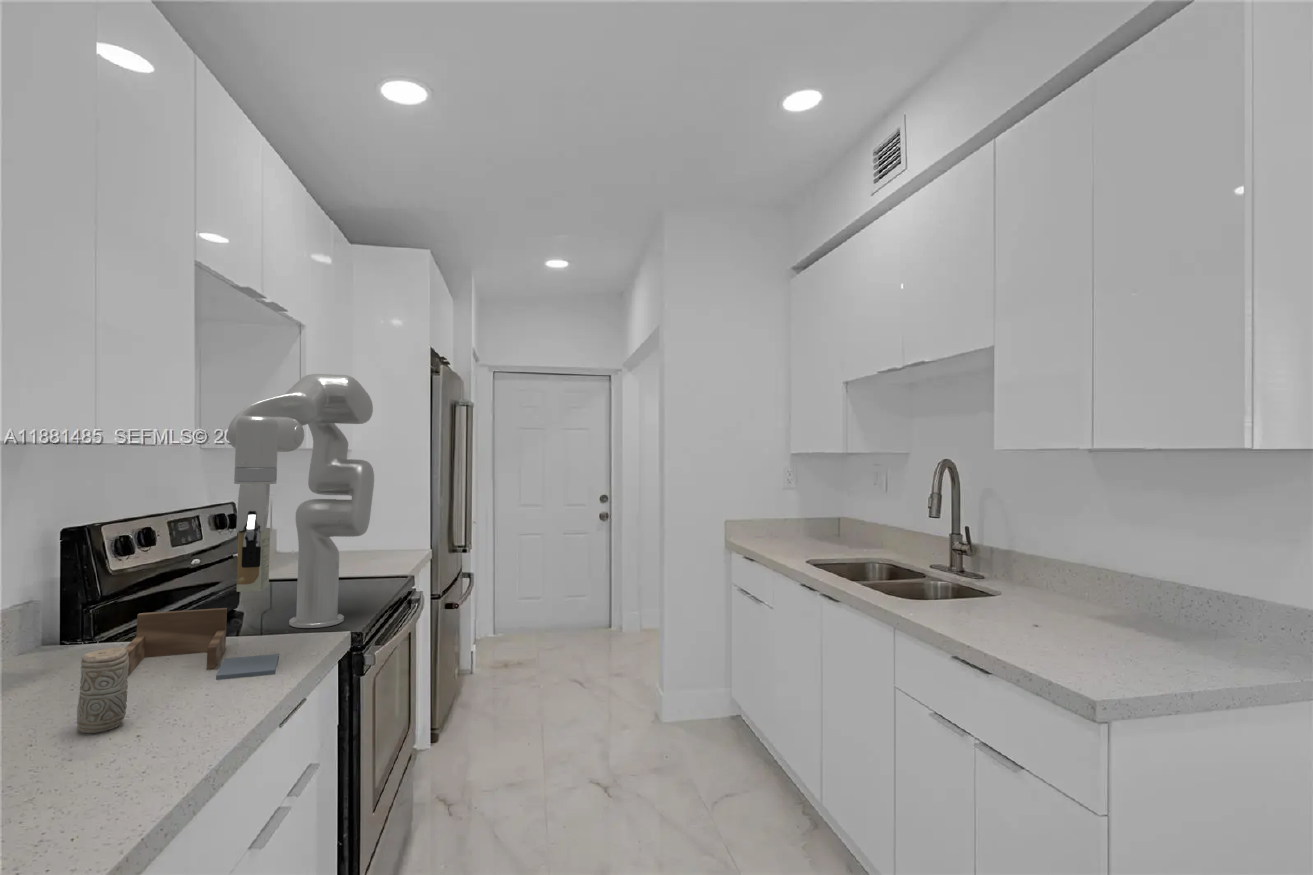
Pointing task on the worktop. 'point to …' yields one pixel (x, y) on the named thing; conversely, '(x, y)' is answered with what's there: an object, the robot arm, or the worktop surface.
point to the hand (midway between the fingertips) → (252, 563)
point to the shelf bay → (179, 635)
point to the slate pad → (247, 666)
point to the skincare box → (254, 576)
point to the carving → (103, 690)
